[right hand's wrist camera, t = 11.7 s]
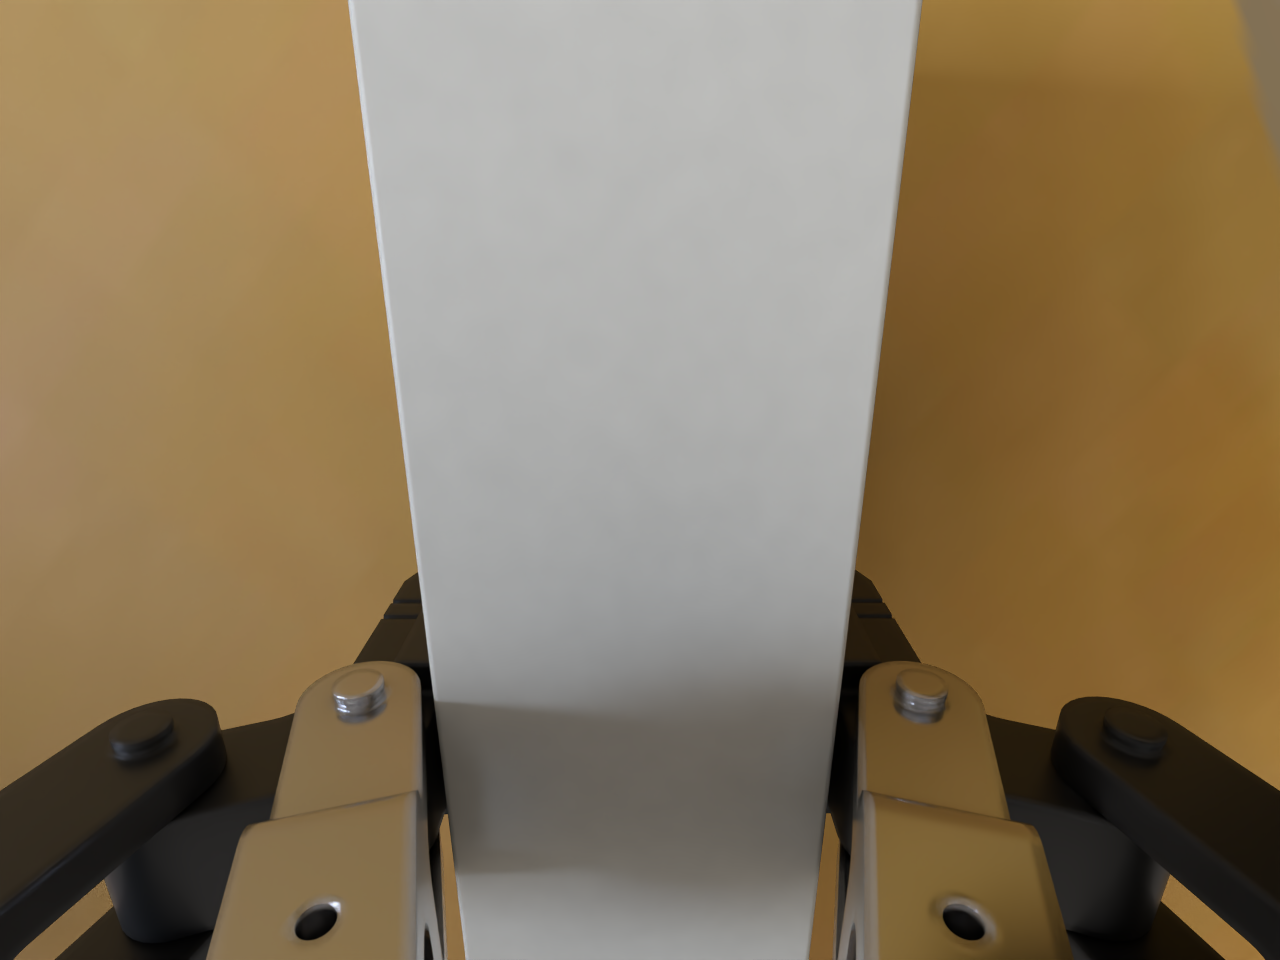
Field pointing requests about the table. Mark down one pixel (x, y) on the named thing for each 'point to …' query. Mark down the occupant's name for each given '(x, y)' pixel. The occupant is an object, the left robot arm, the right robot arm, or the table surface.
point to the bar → (636, 439)
